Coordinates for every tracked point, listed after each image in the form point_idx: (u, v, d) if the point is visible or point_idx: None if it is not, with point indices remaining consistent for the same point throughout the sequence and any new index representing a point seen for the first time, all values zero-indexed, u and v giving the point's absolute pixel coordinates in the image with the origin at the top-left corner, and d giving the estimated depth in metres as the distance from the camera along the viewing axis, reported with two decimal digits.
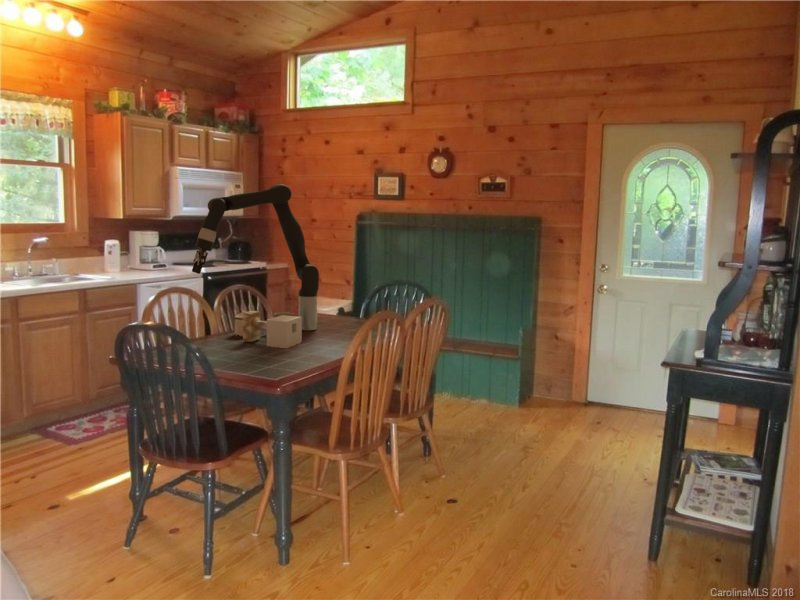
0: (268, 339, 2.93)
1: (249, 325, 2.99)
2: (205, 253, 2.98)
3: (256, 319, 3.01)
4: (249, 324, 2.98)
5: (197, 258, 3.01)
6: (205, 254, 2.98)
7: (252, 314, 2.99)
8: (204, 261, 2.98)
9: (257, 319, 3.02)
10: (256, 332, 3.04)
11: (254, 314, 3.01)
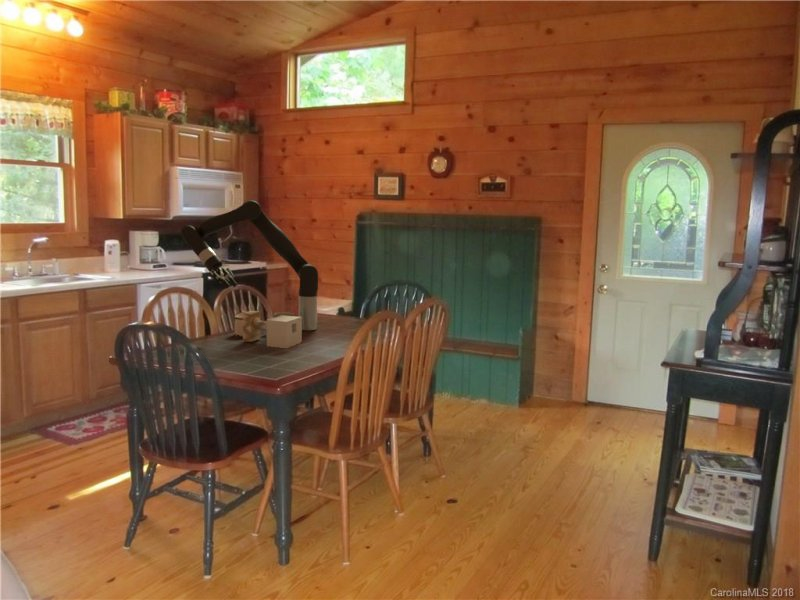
0: (268, 339, 2.93)
1: (249, 325, 2.99)
2: (211, 272, 3.03)
3: (256, 319, 3.01)
4: (249, 324, 2.98)
5: (218, 278, 3.08)
6: (212, 272, 3.03)
7: (252, 314, 2.99)
8: (217, 277, 3.03)
9: (257, 319, 3.02)
10: (256, 332, 3.04)
11: (254, 314, 3.01)
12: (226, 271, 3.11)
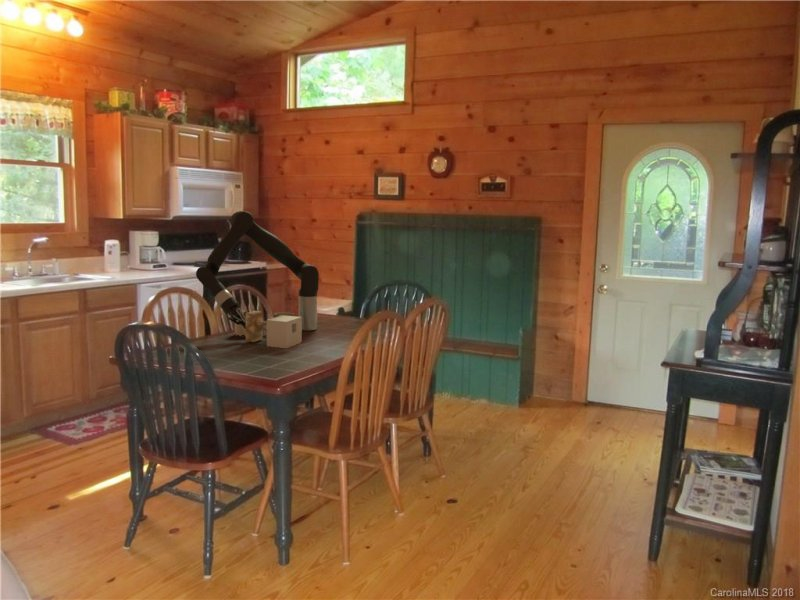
0: (268, 339, 2.93)
1: (252, 325, 2.98)
2: (231, 317, 2.99)
3: (259, 319, 3.01)
4: (252, 324, 2.98)
5: (236, 320, 3.04)
6: (232, 317, 2.99)
7: (255, 314, 2.99)
8: (238, 320, 3.01)
9: (260, 319, 3.01)
10: (259, 332, 3.03)
11: (257, 314, 3.00)
12: (242, 313, 3.05)
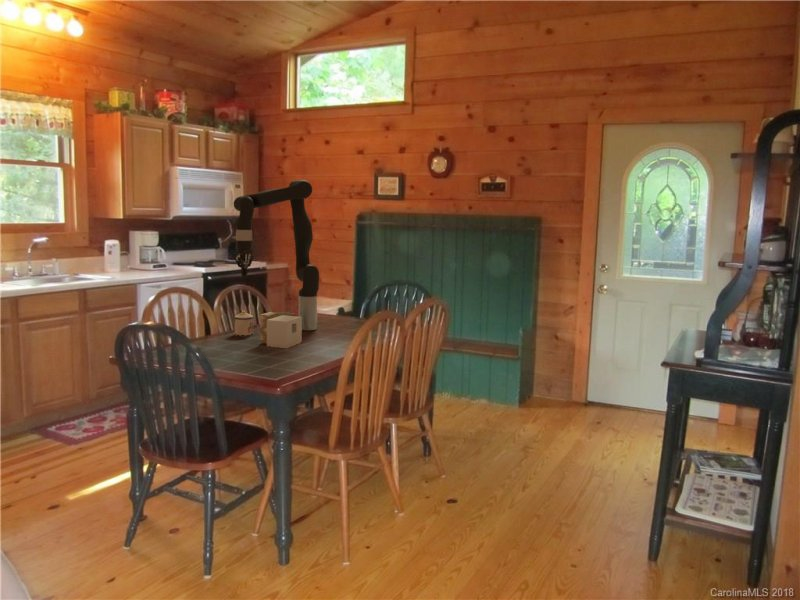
0: (268, 339, 2.93)
1: (266, 326, 2.96)
2: (237, 259, 3.03)
3: None
4: (266, 326, 2.96)
5: None
6: (238, 260, 3.04)
7: (269, 316, 2.96)
8: (241, 265, 3.06)
9: None
10: None
11: (271, 316, 2.98)
12: (248, 259, 3.09)
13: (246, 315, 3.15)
